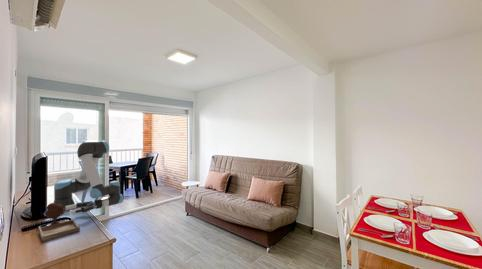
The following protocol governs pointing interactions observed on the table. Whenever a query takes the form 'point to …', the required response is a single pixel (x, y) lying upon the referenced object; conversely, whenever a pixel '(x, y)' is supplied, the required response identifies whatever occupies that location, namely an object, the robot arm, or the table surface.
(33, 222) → the table surface
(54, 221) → the ice cream bowl
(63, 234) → the light brown wooden tray
